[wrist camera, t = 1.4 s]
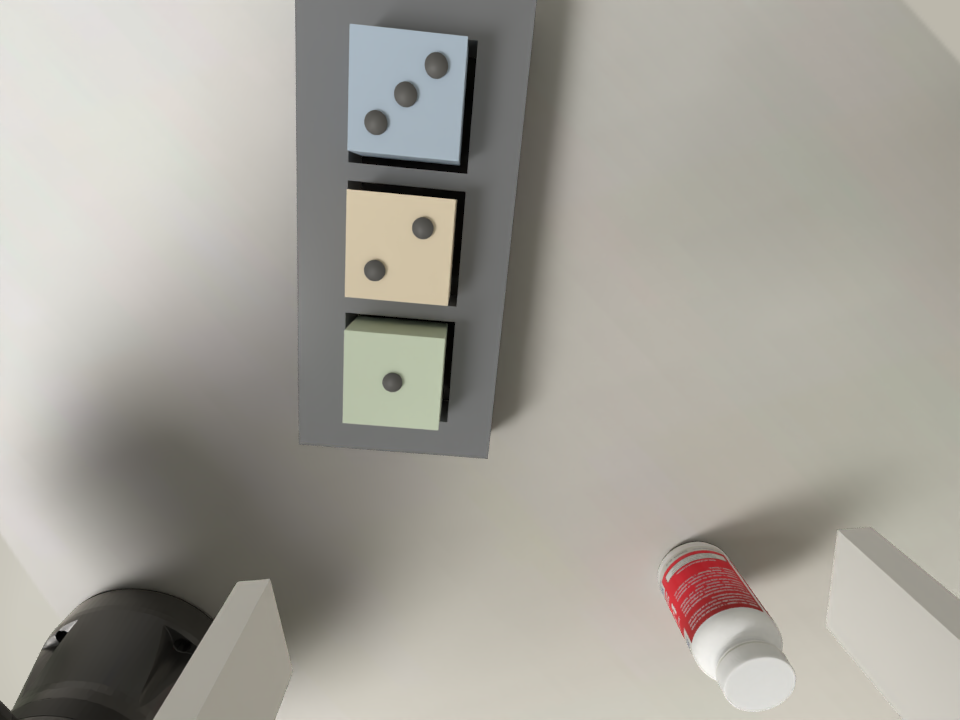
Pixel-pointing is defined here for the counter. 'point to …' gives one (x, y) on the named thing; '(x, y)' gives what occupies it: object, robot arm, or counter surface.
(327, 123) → the grey counting block tray
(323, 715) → the counter surface
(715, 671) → the pill bottle
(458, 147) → the light blue block
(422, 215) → the beige counting block
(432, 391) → the pale green counting block
